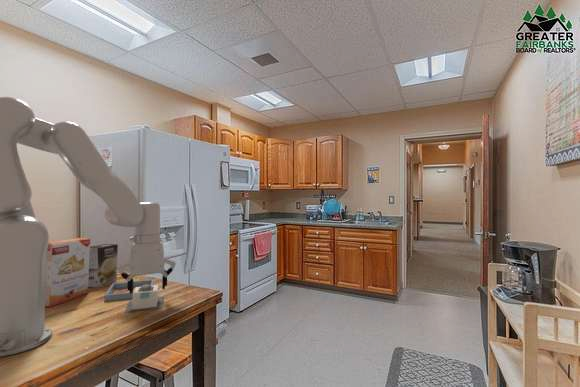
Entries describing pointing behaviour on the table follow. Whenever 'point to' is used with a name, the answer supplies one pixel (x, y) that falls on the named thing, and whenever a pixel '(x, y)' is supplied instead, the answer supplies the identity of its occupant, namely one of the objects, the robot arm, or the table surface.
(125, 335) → the table surface
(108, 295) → the tray
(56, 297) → the cracker box
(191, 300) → the table surface
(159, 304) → the board
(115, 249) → the coffee box
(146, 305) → the collar
